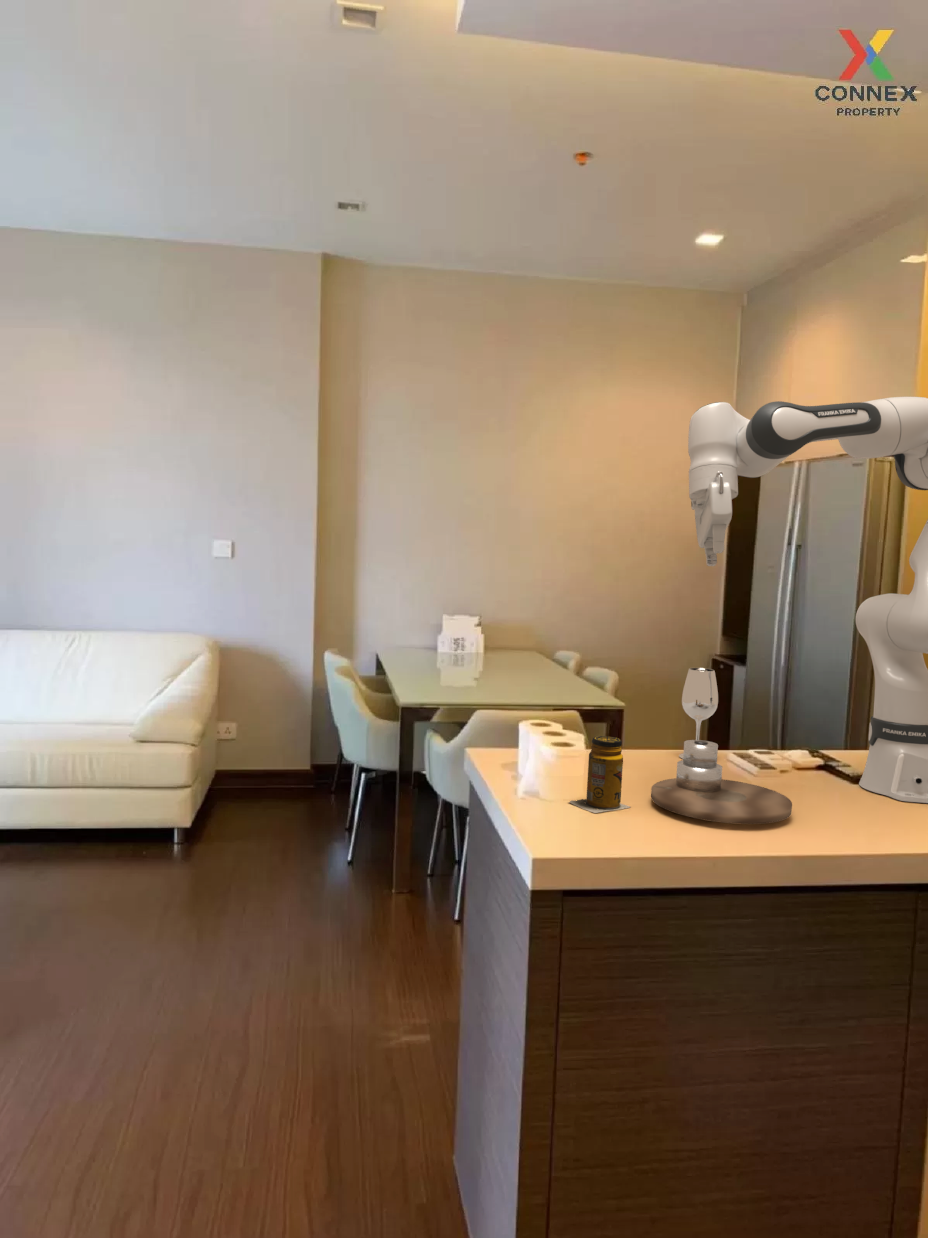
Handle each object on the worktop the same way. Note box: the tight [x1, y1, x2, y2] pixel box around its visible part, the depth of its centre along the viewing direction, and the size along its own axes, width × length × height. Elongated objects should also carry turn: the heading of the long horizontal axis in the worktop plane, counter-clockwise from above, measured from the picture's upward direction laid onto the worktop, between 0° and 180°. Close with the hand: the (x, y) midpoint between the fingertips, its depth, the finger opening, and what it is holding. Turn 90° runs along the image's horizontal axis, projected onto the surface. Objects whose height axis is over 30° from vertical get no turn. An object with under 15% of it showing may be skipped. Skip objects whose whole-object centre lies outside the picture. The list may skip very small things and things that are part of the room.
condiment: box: [569, 735, 631, 814], centre depth 156 cm, size 7×8×12 cm
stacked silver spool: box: [676, 739, 723, 792], centre depth 162 cm, size 8×8×8 cm
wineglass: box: [678, 667, 719, 760], centre depth 196 cm, size 8×8×20 cm
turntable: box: [650, 778, 793, 825], centre depth 157 cm, size 24×24×2 cm
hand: (715, 559), depth 162 cm, fingers open, 8 cm apart
